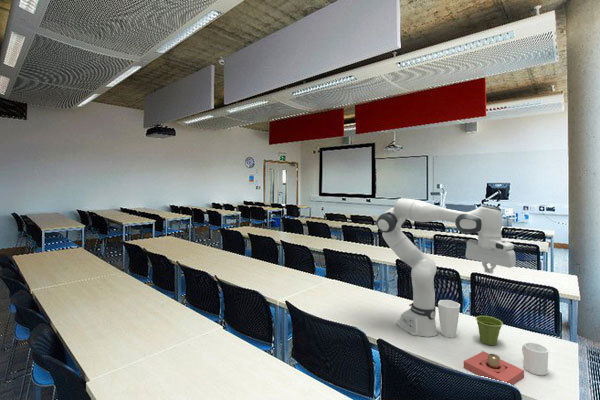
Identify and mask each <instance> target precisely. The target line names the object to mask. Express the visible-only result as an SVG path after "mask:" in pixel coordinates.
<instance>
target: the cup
mask: <svg viewBox="0 0 600 400" xmlns="http://www.w3.org/2000/svg"><path fill="white" fill-rule="evenodd" d="M437 306H438V307H437V308H438V317H439V328H440V334H441V336H444V337H445V338H449V339H450V338H451V339H455V338H456V336H457V331H458V330H457V329H458V324H459V318H460V310H461V309H460V308H461V304H460V303H458V302H457V301H454V300H450V299H439V301H438V303H437Z"/></svg>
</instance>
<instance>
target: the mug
mask: <svg viewBox="0 0 600 400" xmlns="http://www.w3.org/2000/svg"><path fill="white" fill-rule="evenodd" d="M521 353H522V355H523V368H524V370H525V371H527V372H528V373H531V374H533V375H536V376H539V377H540V376H546V375H547V374H548V370H549V367H548V365H549V349H548V348H547V347H546V346H545V345H543V344H540V343H538V342H537V343H536V342H524V344H523V345H522V347H521Z"/></svg>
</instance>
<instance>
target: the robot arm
mask: <svg viewBox="0 0 600 400" xmlns="http://www.w3.org/2000/svg"><path fill="white" fill-rule="evenodd" d="M502 218H503V217H502V213H501V210H500V209H499V208H498V207H495V206H491V205H481V206H480V207H478V208H476V209H473V210H467V211H462V210H456V209H450V208H446V207H441V206H438V205H435V204H432V203H429V202H427V201H422V200H420V199H413V198H405V197H403V198H399V199H396V201H395V202H394V205H393V206H392V207H391V208H389V209H387V210H385V211H384V212H383V213H382V214H380V215H379V216H378V218H377V219H376V227H377V228H378V230H379V231H380V232H381V233H382V235H381V236H382V238H383V240H384V241H385V242H386V244H387V246H388V247H389V248H390V249H391V250H392V252H393V253H395V254H394V255H396V256H397V257H398V259H400V261H402V262H403V263H406V264H407V265H408V266H409V267H410V268H412V269H411V272H410V277H411V283H412V284H411V285H412V292H413V293H412V300H413V301H412V303H409V304H408V307H410V309H407V310H405V311H403V312H402V313H401V315H400V318H399V319H398V320H396V322H395V325H397V326H399V327H400V328H401V329H403V330H404V331H406V332H407V333H409V334H410V335H412V336H420V337H427V338H429V337H434V336H437V335H438V332H439V331H438V328H437V321H436V311H437V310H436V309H437V308H436V303H435V302H436V293H435V282H434V280H435V275H436V273H437V265H436V262H435V261H434V259H431V258H430V257H428V255H426V254H425V253H424V252H422V251H421V250H420V249H419V248H418V247H417V245H415V244H414V243H413V242H412V241H411V239H410V238H408V237H407V235H406V234H405V233H404V232H403V231H402V227H403V226H405V223H406V222H407V220H410V221H413V222H419V223H428V222H429V223H430V222H436V221H445V222H450V223H454V224H455V227H456V229H457V230H458V231H459V232H461V233H465V234H472V233H474V234H475V233H477V239H478V240H476V239H471V238H470V239H468V240H467V241H466V248H465V258H466V259H467V260H472V261H476V262H480V263H481V265H482V267H483V270H484V273H487V274H491V275H492V274H494V269H495V268H496V267H497V266H499V267H504V268H509V269H510V268H514V267H515V266H516V265H517V263H516V262H517V258H516V257H517V256H516V252H515V251H514V248H515V245H514V244H513V243H512V242H510V241H507V240H505V239H503V238H502V233H501V230H502V226H503V219H502ZM488 264H490V268H489V267H488Z"/></svg>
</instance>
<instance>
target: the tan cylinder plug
mask: <svg viewBox="0 0 600 400" xmlns="http://www.w3.org/2000/svg"><path fill="white" fill-rule="evenodd" d="M500 359H501V358H500V356H498V355H497V354H494V353H488V367H490V368H492V369H499V363H500Z"/></svg>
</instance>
